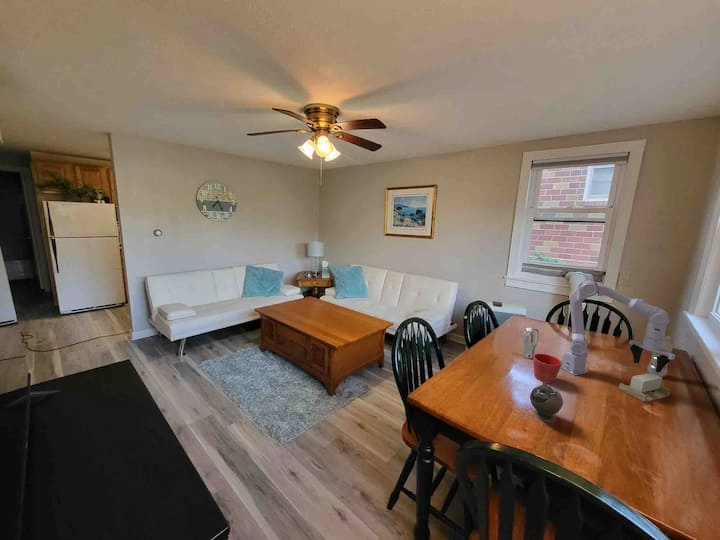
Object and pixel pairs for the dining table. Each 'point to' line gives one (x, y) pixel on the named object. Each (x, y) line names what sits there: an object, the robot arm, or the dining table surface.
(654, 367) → the plastic bottle
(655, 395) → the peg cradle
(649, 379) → the pale green block
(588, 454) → the dining table surface
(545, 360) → the flower pot
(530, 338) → the silver pitcher
